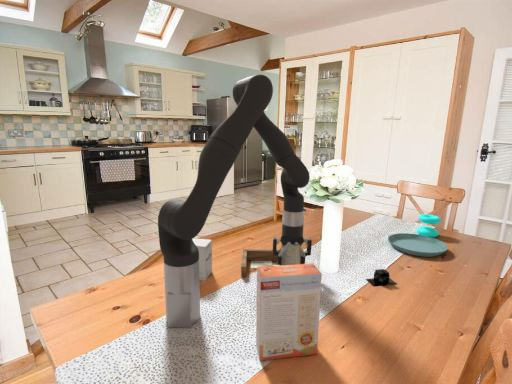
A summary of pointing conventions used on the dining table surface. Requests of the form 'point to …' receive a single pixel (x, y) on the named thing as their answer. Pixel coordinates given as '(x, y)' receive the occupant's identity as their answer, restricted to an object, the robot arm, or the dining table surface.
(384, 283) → the black tapered holder
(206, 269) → the supplement box
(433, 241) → the saucer
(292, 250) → the skincare box
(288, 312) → the cracker box
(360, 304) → the dining table surface
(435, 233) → the donuts
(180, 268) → the robot arm
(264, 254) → the wooden corner frame
